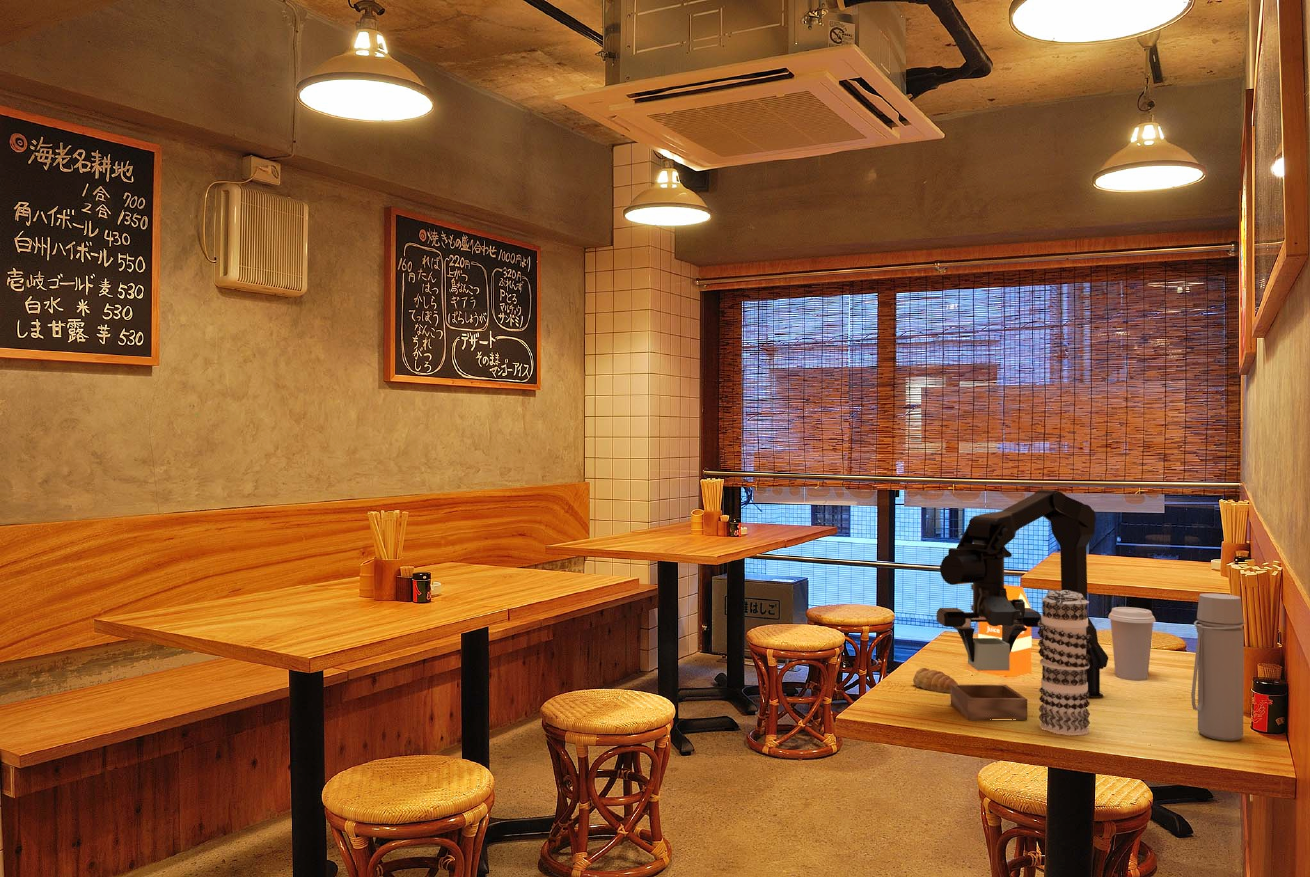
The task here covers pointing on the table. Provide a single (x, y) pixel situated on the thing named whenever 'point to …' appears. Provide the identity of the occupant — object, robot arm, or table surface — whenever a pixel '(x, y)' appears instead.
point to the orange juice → (1022, 644)
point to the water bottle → (1219, 667)
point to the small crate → (991, 655)
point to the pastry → (933, 680)
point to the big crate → (988, 702)
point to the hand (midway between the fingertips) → (988, 661)
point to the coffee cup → (1131, 641)
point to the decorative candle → (1064, 663)
